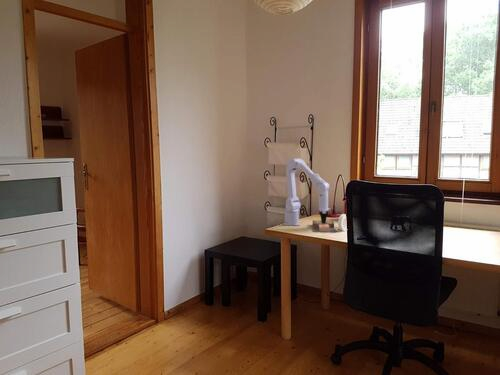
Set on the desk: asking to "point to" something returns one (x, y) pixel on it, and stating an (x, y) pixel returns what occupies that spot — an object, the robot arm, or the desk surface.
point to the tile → (324, 227)
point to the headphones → (342, 222)
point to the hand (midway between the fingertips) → (323, 223)
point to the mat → (324, 231)
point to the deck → (323, 223)
